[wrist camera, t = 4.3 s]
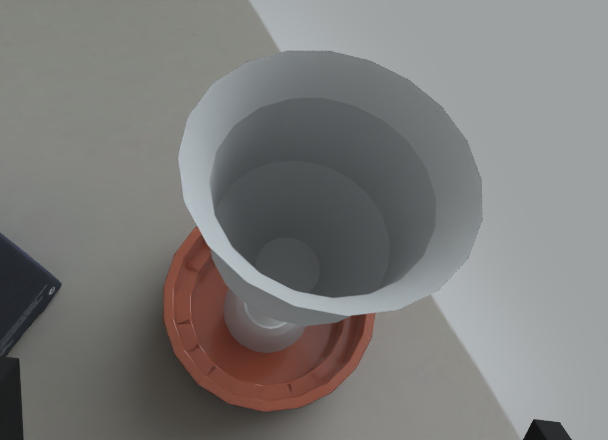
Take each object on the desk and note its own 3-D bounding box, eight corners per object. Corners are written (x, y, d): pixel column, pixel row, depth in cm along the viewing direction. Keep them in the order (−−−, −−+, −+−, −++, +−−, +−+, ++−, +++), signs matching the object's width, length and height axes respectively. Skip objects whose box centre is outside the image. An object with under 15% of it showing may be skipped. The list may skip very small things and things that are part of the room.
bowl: (385, 360, 28) (410, 354, 24) (209, 444, 25) (207, 452, 21) (312, 201, 31) (324, 174, 27) (146, 258, 28) (134, 237, 24)
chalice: (185, 345, 26) (124, 248, 10) (228, 236, 29) (238, 13, 12) (309, 386, 26) (459, 362, 10) (340, 275, 29) (500, 107, 12)
